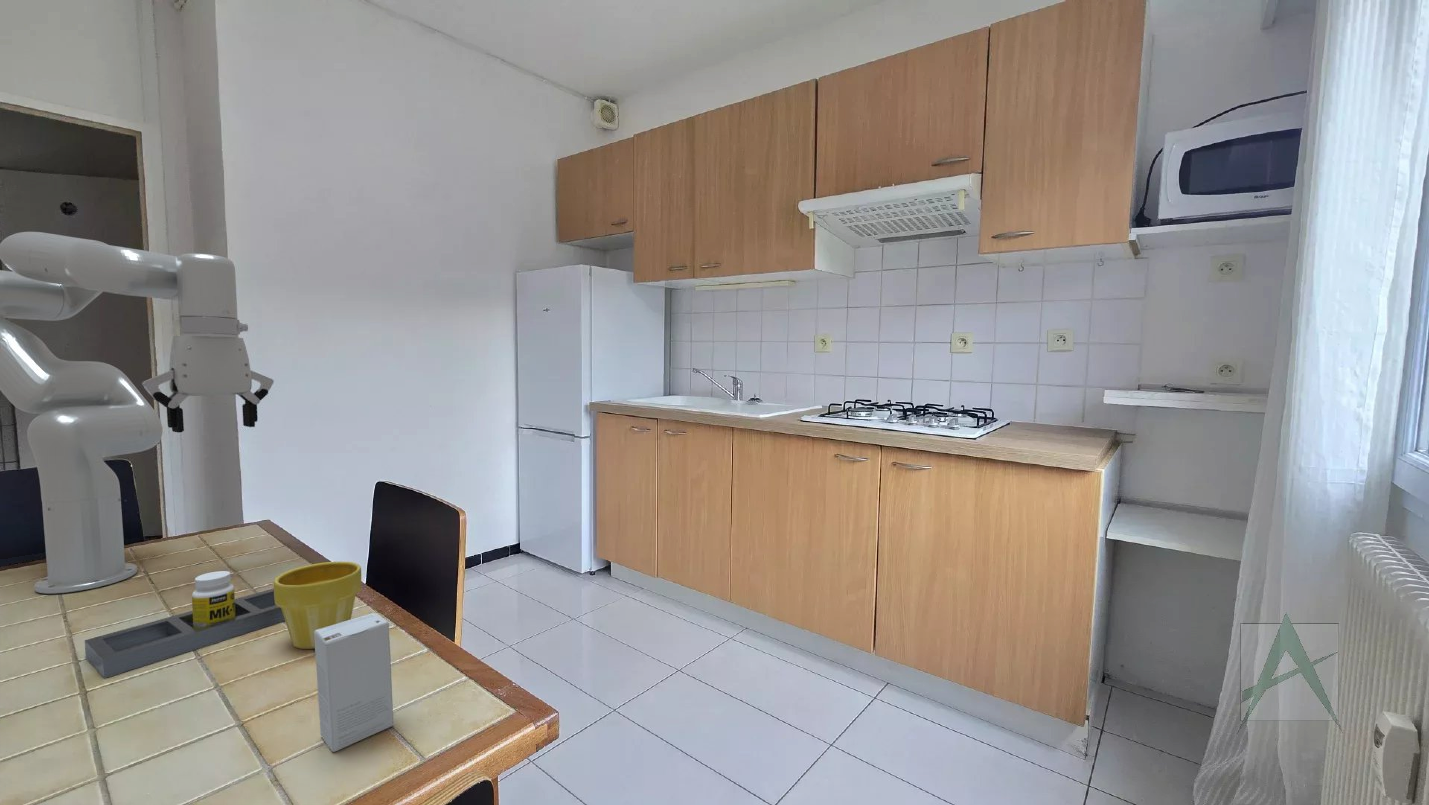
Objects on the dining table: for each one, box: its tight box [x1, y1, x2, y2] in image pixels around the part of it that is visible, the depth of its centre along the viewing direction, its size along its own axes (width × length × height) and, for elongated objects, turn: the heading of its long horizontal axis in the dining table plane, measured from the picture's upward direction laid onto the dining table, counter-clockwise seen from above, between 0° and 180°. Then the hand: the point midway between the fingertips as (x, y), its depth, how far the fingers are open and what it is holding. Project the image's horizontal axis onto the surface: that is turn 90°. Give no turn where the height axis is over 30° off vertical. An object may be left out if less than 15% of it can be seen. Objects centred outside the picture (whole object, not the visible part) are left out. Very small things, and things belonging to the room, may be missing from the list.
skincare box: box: [314, 612, 394, 753], centre depth 62 cm, size 6×4×12 cm
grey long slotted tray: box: [83, 587, 286, 679], centre depth 86 cm, size 9×25×2 cm, turn 147°
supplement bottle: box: [191, 570, 236, 629], centre depth 85 cm, size 5×5×8 cm
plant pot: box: [272, 561, 362, 650], centre depth 83 cm, size 10×10×10 cm
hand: (215, 429), depth 99 cm, fingers open, 9 cm apart
